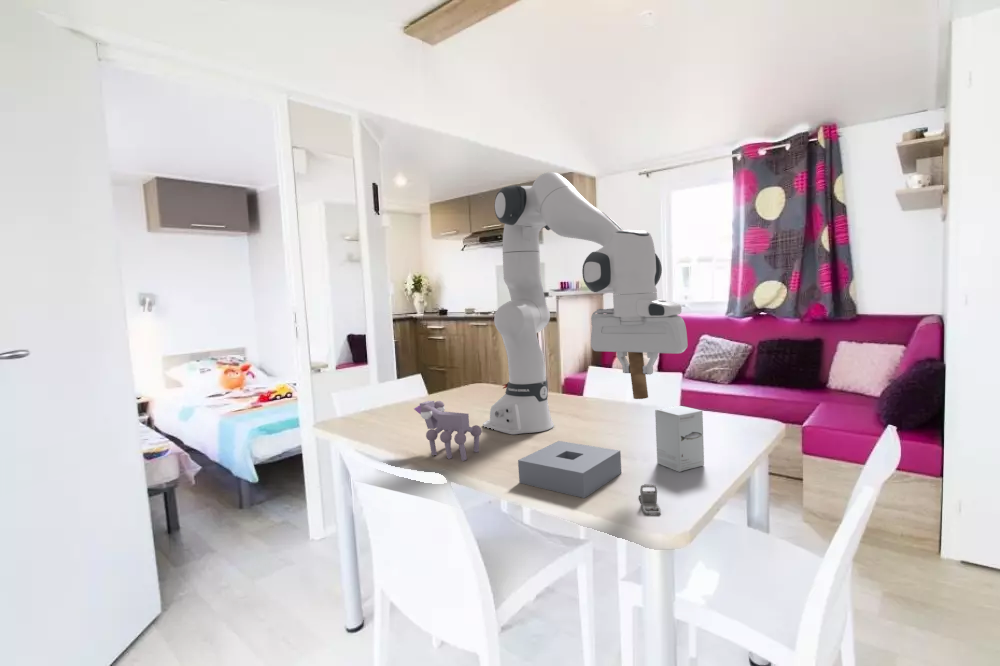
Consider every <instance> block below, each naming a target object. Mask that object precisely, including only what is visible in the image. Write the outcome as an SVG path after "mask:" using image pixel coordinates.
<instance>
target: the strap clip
mask: <svg viewBox="0 0 1000 666" xmlns="http://www.w3.org/2000/svg"><path fill="white" fill-rule="evenodd" d="M644 488H654V490H645V491H644V490H643V489H644ZM639 489H640V490H639V492H640V493H639V495H638V500H639V502H640V504H641V506H642V507H641V508H642V513H643V514H644V515H645V516H661V515H662V513H661V507H660V506H659V504H658V503H657V502H658V488H657V485H656V484H652V483H644V484H642V485H640V488H639Z"/></svg>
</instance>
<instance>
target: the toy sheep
mask: <svg viewBox="0 0 1000 666" xmlns="http://www.w3.org/2000/svg"><path fill="white" fill-rule="evenodd" d="M413 410H414V411H416V412H417V413H418V414H419V415H420V417H421V419H424V421H425V425H426V427H427V429H428V430H427V431H426V434H425V437H426V439H427V440H428V441H429V446H430V447H429V448H430V452H431V456H432V455H436V456H437V455H438V453H437V446H436V441H435V440H437V439H438V434H439V433H440V435H439V439H440V442H442V443H444V447H445V452H446V453H445V454H446V458H448V459H447V460H449V459H452V458H453V452H452V446H451V445H452V437H453V436H452V434H453V433H454V432H457V433H456V434H455V435H454V437H453V438H454V442H455V444H457V445H458V450H459V453H460V458H461V462H464V461H467V459H468V457H467V452H466V446H465V445H466V444H465V442H467V436H466V434H467V433H468V432H469V433H470V435H471V436H472V437H473V452H474V453H479V452H480V436H481V435H482V432H483V431H482V427H480V426H479V425H473V426H470V419H469V418H470V417H469V413H465V412H464V413H463V412H454V411H452V412H451V411H445V410H446V408H445V403H444V402H443V401H441V400H436V401H435V400H427V401H424V402H419V405H418V406H416V407H414V408H413Z"/></svg>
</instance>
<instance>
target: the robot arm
mask: <svg viewBox="0 0 1000 666" xmlns="http://www.w3.org/2000/svg"><path fill="white" fill-rule="evenodd" d="M494 214H495V216H496V218H497V220H498V222H500V223H502V224H504V225H503V226H504V227H503V234H502V269H503V270H502V272H503V273H502V274H503V280H504V283H505V285H506V286H507V289H508V293H509V296H510V300H509V301H507V302H505V303H503V304H502V305H501V306H499V307H498V309H496V312H495V313H494V319H493V321H494V326H495V328H496V330H497V332H498V333H499V334H500V335H501V338H502V341H503V345H504V349H505V352H506V356H507V365H508V367H507V368H508V380H509V381H508V382H507V383H505V384H502V385H501V386H503V387H502V389H504V390H505V389H506V390H505V392H504V393H505V394H504V395H503V396H502V397H500V398H499V399H498V400H497V401H496V402H495V403H494V404H492V406H491V408H490V411H489V419H487V420H486V421H484V422H483V423H482V427H483V426H484V427H483V428H485V427H487V428H486V429H489V428H491V429H490V430H493V429H494V430H493V431H497V432H501V433H505V434H509V435H518V434H528V433H529V434H531V433H532V434H533V433H538V432H539V433H540V432H544V431H548V430H551V429H553V428H554V425H555V424H554V422H553V419H552V416H551V412H550V406H549V402H548V396H549V395H548V394H549V387H548V380H547V379H546V366H545V364H546V363H545V361H546V360H545V353H544V352H543V351H542V348H541V346H540V343H539V338H538V333H540V332H542V330H544V329H545V328H546V326H548V324H549V322H550V319H551V313H550V309H549V307H548V305H547V303H546V301H547V300H546V297H545V291H544V289H543V283H542V278H541V277H542V276H541V274H542V273H541V253H540V252H541V251H540V239H539V237H540V236H539V235H540V232H541V230H542V229H543V228H544V229H545V230H547V231H550V230H551V231H552V232H554V233H555V234H557V235H558V236H560V237H563V238H568V239H569V238H570V239H576V240H577V239H578V240H582V241H583V240H584V241H588V242H593V243H596V244H599V245H601V246H602V247H601V248H599V249H597V250H596V251H592V252H590V253H589V254H588V255H587V256H586V257H585V259H584V262H583V265H582V270H581V271H582V272H581V273H582V279H583V282H584V285H585V286H586V288H587V289H589V291H591V292H593V293H597V294H613V295H612V298H613V299H612V301H613V307H612V308H598V309H596V310H595V311H594V312H593V313H592V314H591V318H590V320H591V321H590V322H591V323H590V324H591V333H590V346H591V349H592V350H593V351H594V352H605V353H606V352H608V353H609V352H613V353H616V357H617V360H618V361H619V363H620V364H621V366H622V373H623V374H631V373H630V365H629V360H627V356H628V352H641V353H643V354H645V353H646V357H647V359H649V360H648V361H647V364H644V366H643V374H646V375H649V376H651V375H653V374H654V364H655V363H656V362H657V361H656V360H657V359H658V358H659V354H682V353H684V352H685V351H686V349H688V346H689V345H688V333H687V327H686V322H685V321H684V319H683V317H682V316H680V314H681V313H682V310H683V309H682V306H681V304H680V303H677V302H672V301H669V300H666V299H661V298H658V291H657V287H656V286H657V285H658V283H659V281H660V279H661V276H662V273H663V267H662V263H661V260H660V258H659V256H658V255H657V253H656V250H655V249H656V248H655V245H654V240H653V237H652V234H651V233H649V232H648V231H646V230H641V229H639V230H638V229H637V230H636V229H634V230H633V229H623V227H622V226H620V225H619V224H618V223H617V222H616V221H615V220H614V219H612V218H611V217H610V216H609V215H607V214H606V213H605V212H603V211H601V210H600V209H598V208H597V207H596V206H594V205H593V204H592V203H591V202H589V201H588V200H587V199H586V198H584V196H583V195H581V193H580V192H579V191H578V190H577V189H576V187H575V186H574V185H573V184H572V183H571V182H570V181H569V180H567V178H565V177H563V175H561V174H560V173H557V172H554V171H548V172H544V173H541V174H540V175H539V176H537V178H535V180H534V182H533V183H532V185H515V184H513V185H508V186H504V187H502V188H500V189H499V190H498V192H497V193H496V195H495V199H494Z"/></svg>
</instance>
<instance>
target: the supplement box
mask: <svg viewBox="0 0 1000 666" xmlns="http://www.w3.org/2000/svg"><path fill="white" fill-rule="evenodd" d="M654 413H655V415H654V416H655V441H656V444H655V445H656V463H657V464H659V465H661V466H663V467H665V468H668V469H671V470H674V471H676V472H678V473H682V472H683V471H686V470H691V469H695V468H698V467H703V466H705V455H704V453H705V448H704V421H703V420H704V418H703V415H704V414H703V413H704V412H703V410H701V409H697V408H693V407H688V406H684V405H683V406H682V405H675V406H670V407H663V408H658V409H655V411H654Z"/></svg>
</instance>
